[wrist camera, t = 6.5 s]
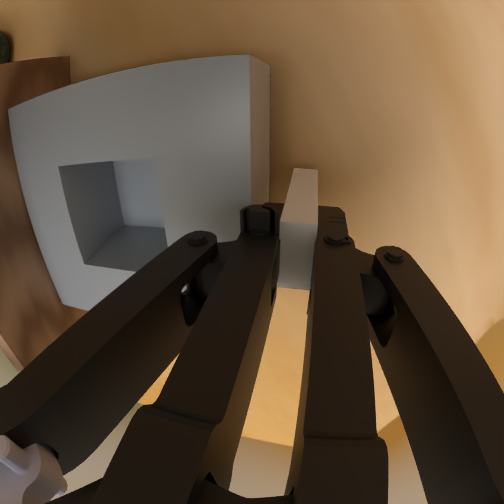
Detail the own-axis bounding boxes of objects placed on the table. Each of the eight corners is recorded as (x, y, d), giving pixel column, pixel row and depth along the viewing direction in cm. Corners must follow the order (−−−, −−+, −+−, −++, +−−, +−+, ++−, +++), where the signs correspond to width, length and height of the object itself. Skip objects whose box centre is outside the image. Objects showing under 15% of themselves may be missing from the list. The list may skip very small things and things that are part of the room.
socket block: (70, 93, 16) (7, 109, 11) (269, 65, 14) (249, 54, 9) (102, 259, 23) (62, 304, 18) (267, 278, 21) (252, 341, 16)
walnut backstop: (51, 63, 15) (-85, 97, 5) (69, 56, 15) (-77, 85, 5) (95, 282, 25) (22, 377, 15) (111, 285, 25) (37, 386, 15)
